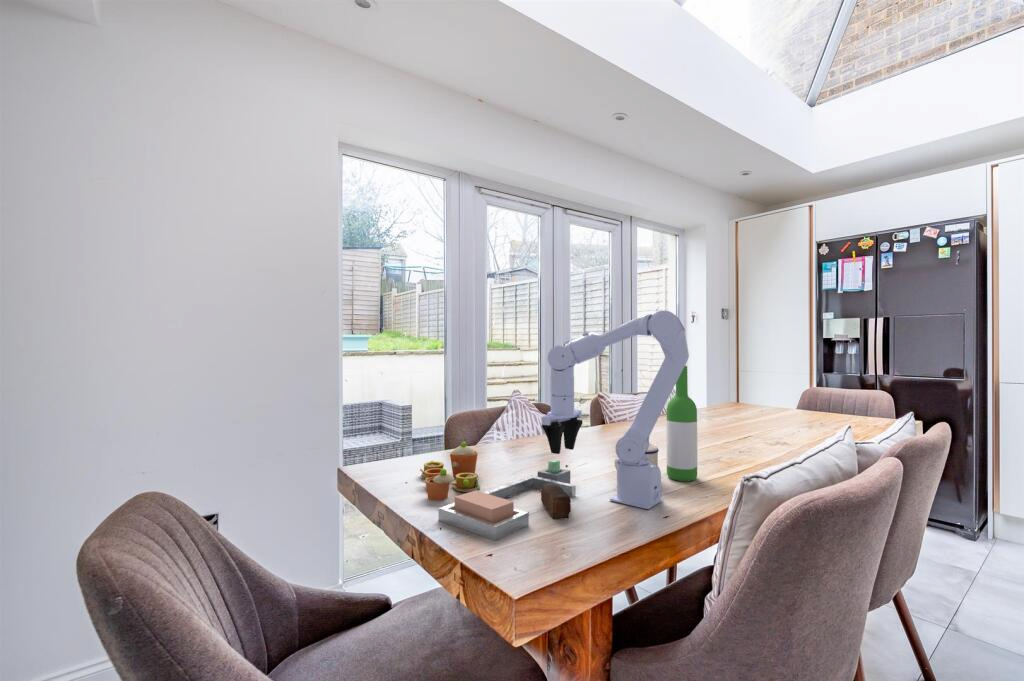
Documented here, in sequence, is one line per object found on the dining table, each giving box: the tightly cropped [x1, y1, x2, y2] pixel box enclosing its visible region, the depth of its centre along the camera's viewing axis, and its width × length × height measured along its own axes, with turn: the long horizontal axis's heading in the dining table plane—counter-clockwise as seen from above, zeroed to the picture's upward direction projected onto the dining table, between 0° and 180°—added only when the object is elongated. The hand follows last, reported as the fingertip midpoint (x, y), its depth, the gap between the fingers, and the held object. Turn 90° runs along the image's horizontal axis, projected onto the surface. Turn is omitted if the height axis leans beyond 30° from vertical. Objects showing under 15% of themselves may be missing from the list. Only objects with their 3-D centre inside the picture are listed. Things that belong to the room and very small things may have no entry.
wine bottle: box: [666, 365, 698, 482], centre depth 128 cm, size 8×8×30 cm
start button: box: [547, 459, 561, 474], centre depth 122 cm, size 3×3×4 cm
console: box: [537, 467, 571, 484], centre depth 122 cm, size 6×6×4 cm
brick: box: [540, 485, 572, 520], centre depth 104 cm, size 11×4×5 cm, turn 10°
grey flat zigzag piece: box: [438, 475, 577, 542], centre depth 105 cm, size 16×31×2 cm, turn 140°
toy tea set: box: [419, 441, 481, 501], centre depth 123 cm, size 26×16×10 cm, turn 11°
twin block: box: [453, 490, 515, 523], centre depth 97 cm, size 6×11×5 cm, turn 46°
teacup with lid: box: [614, 442, 660, 471], centre depth 125 cm, size 12×9×12 cm
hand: (562, 451), depth 117 cm, fingers open, 5 cm apart
